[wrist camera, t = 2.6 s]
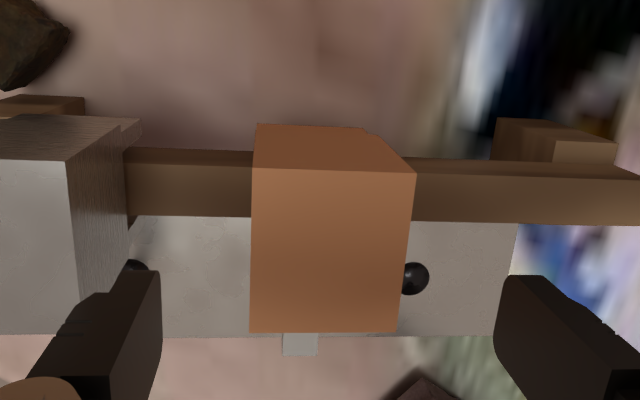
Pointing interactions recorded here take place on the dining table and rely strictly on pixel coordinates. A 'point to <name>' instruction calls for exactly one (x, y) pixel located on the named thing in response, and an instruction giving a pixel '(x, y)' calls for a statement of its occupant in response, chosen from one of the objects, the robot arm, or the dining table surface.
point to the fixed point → (61, 215)
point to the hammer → (425, 392)
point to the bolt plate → (233, 321)
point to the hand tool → (26, 42)
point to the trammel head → (326, 233)
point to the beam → (432, 173)
